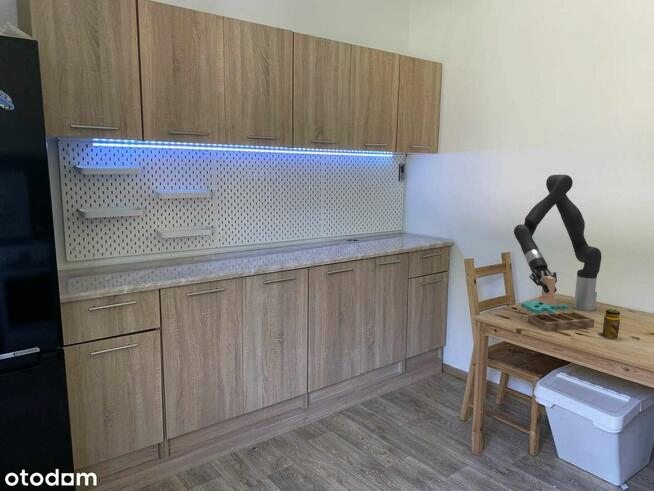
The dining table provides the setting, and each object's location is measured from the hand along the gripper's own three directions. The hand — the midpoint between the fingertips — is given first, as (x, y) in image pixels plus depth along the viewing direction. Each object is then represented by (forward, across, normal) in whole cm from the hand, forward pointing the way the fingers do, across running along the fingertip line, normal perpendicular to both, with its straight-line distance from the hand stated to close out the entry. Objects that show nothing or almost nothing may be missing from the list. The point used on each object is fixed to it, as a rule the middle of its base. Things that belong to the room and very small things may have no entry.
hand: (551, 292), depth 219 cm
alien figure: (-6, +18, +31) cm, 36 cm away
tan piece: (+2, 0, +5) cm, 6 cm away
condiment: (+24, +18, 0) cm, 29 cm away
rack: (+11, +8, +13) cm, 19 cm away
